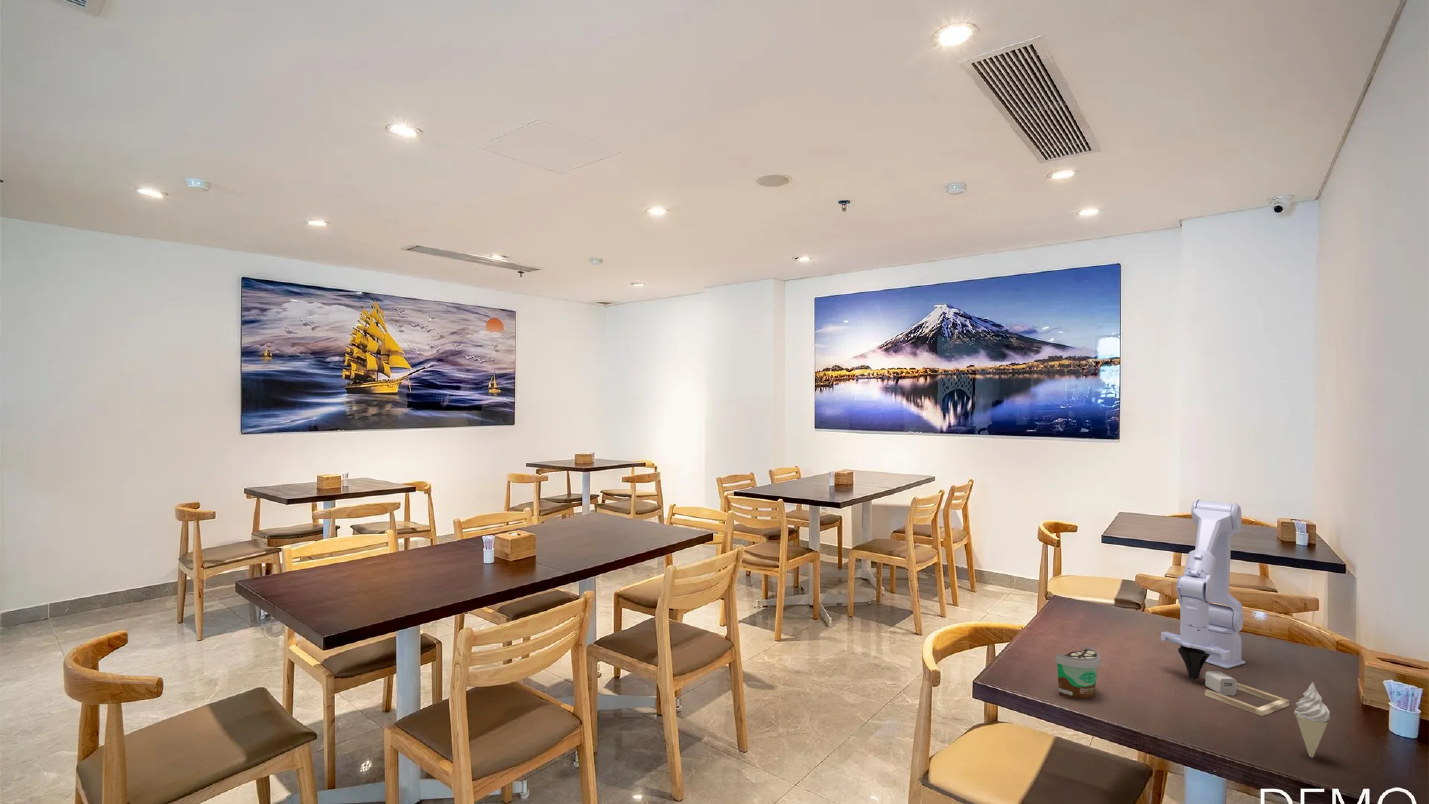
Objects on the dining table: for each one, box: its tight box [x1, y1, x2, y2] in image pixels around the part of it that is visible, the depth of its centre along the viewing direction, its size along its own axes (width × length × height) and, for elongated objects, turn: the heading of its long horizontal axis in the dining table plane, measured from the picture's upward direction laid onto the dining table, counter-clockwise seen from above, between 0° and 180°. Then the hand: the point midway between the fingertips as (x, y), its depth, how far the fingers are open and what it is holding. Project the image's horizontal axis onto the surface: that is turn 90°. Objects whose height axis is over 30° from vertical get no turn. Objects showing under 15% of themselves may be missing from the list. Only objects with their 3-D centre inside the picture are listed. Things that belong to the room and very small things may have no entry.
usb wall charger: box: [1200, 670, 1237, 696], centre depth 153 cm, size 4×7×4 cm, turn 1°
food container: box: [1055, 645, 1102, 701], centre depth 149 cm, size 12×6×10 cm, turn 117°
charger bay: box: [1204, 681, 1291, 717], centre depth 147 cm, size 12×11×1 cm
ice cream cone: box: [1293, 681, 1331, 759], centre depth 123 cm, size 5×5×15 cm
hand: (1193, 678), depth 157 cm, fingers closed
